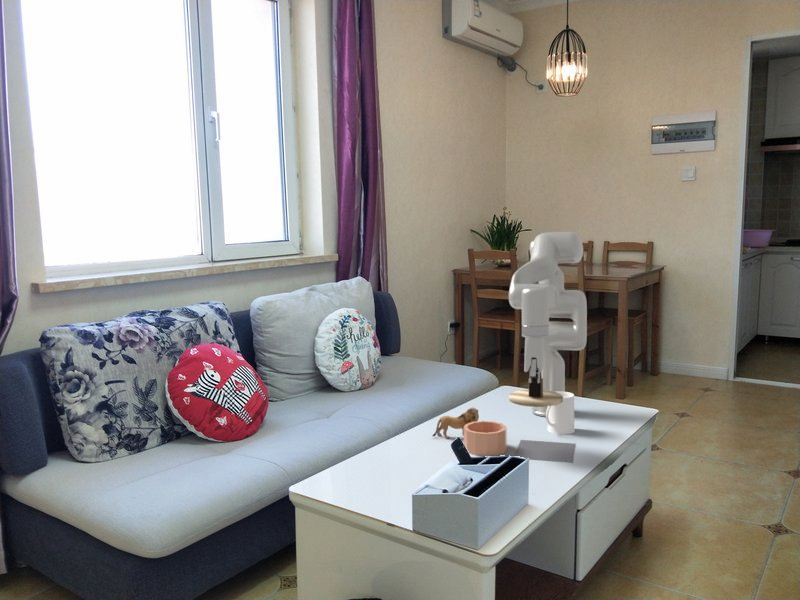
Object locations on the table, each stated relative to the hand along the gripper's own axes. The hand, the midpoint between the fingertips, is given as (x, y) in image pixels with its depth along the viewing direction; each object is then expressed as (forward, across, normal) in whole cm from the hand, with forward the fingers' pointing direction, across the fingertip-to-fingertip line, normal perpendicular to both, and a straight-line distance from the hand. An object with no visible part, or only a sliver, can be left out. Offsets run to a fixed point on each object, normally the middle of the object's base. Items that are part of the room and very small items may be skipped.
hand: (535, 393), depth 191 cm
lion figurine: (+17, -10, -25) cm, 32 cm away
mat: (+17, 0, +3) cm, 17 cm away
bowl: (+17, +1, -14) cm, 22 cm away
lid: (+2, 0, 0) cm, 2 cm away
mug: (+17, -19, +5) cm, 26 cm away
